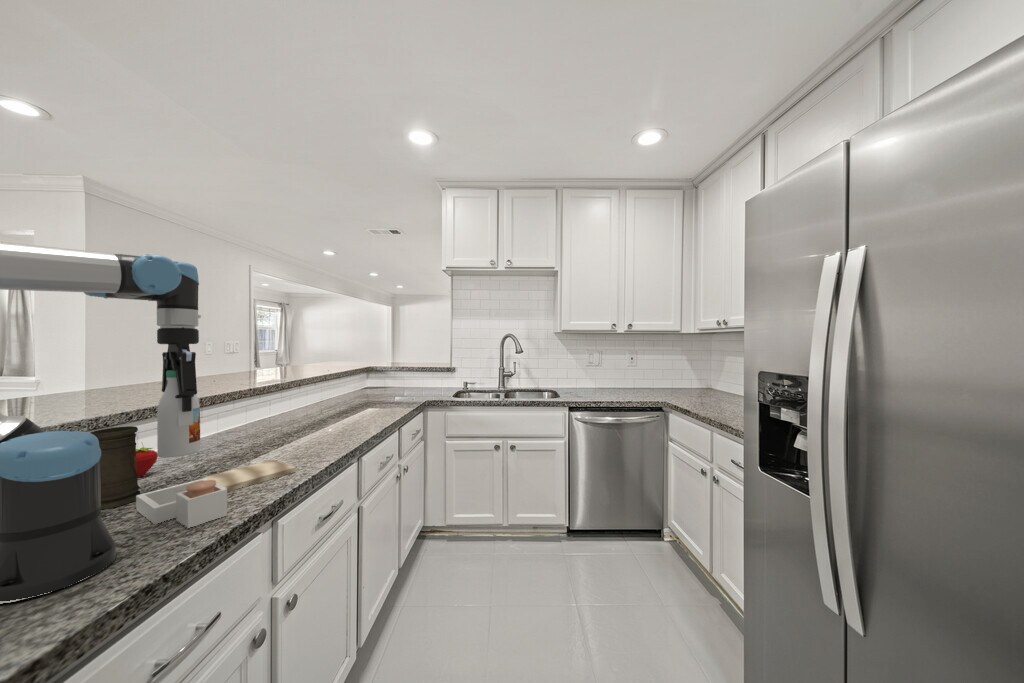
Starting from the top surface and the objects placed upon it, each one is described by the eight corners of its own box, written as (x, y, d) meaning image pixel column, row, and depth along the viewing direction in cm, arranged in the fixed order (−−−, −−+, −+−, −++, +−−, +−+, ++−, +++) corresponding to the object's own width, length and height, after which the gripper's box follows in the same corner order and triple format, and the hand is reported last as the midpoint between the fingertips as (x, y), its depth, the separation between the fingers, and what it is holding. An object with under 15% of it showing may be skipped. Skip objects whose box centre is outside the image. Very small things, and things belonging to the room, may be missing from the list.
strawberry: (123, 477, 114) (122, 443, 114) (158, 470, 119) (157, 438, 119) (122, 482, 109) (121, 447, 109) (158, 475, 114) (157, 442, 114)
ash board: (225, 492, 100) (225, 486, 100) (204, 482, 108) (204, 477, 108) (295, 472, 115) (295, 467, 115) (272, 464, 123) (272, 459, 123)
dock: (168, 535, 78) (167, 506, 78) (136, 510, 90) (135, 484, 90) (243, 510, 89) (242, 484, 89) (205, 491, 101) (205, 468, 101)
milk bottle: (176, 459, 87) (176, 370, 87) (148, 458, 89) (147, 371, 89) (208, 449, 95) (208, 368, 95) (181, 449, 96) (181, 368, 96)
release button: (191, 516, 82) (191, 490, 82) (183, 511, 85) (182, 485, 85) (220, 507, 86) (220, 482, 86) (211, 502, 89) (210, 478, 89)
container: (107, 511, 90) (105, 434, 90) (78, 508, 92) (76, 433, 92) (150, 495, 99) (149, 426, 99) (123, 493, 101) (121, 425, 101)
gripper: (214, 326, 89) (215, 425, 89) (183, 329, 101) (183, 417, 101) (172, 325, 83) (173, 431, 83) (144, 328, 94) (144, 422, 94)
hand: (179, 423), depth 92 cm, fingers closed on milk bottle, 7 cm apart
